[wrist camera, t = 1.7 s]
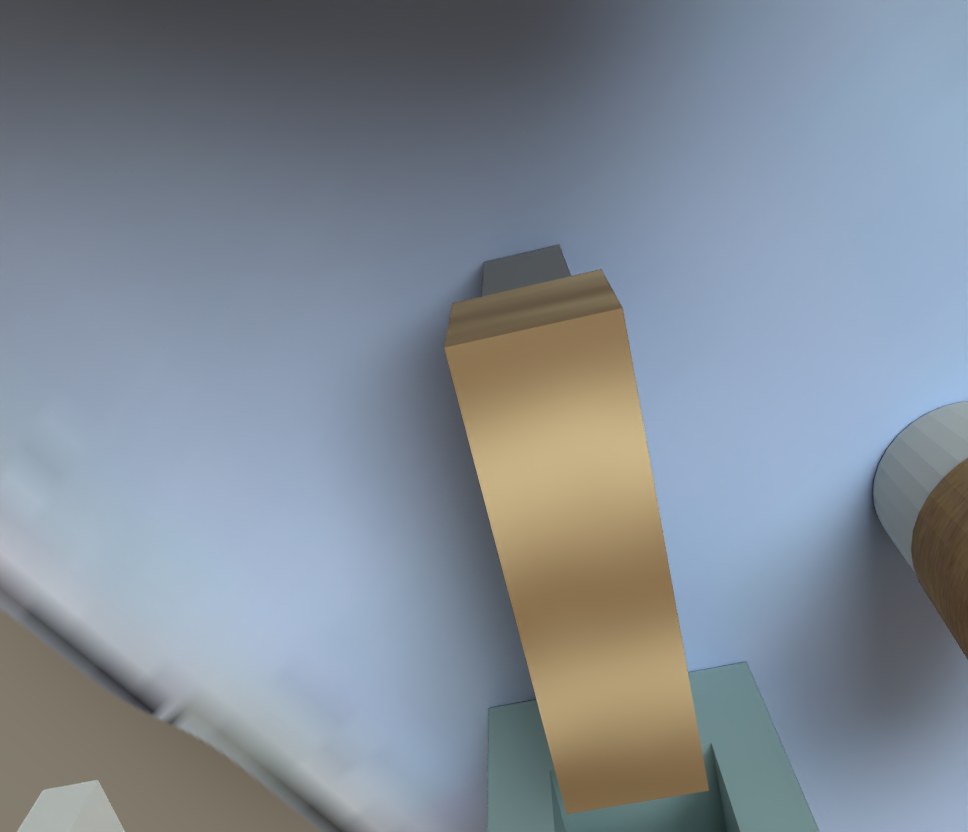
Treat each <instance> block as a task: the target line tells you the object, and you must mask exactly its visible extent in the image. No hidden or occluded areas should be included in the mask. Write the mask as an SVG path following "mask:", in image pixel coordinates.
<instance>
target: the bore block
mask: <svg viewBox="0 0 968 832" xmlns="http://www.w3.org/2000/svg"><path fill="white" fill-rule="evenodd" d="M688 676H689V681H690V687H691V692H692V698H693V704H694V709H695V715H696V720H697V726H698V732H699V737H700V743H701V748H702V754H703V759H704V765H705V771H706V776H707V782H708V787H709V791H704V792H698V793H692V794H686V795H680V796H674V797H668V798H662V799H656V800H650V801H644V802H638V803H632V804H626V805H620V806H614V807H608V808H602V809H596V810H590V811H584V812H578V813H572V814H566V810H565V807H564V803H563V799H562V795H561V791H560V788H559V784H558V780H557V776H556V772H555V768H554V765H553V761H552V757H551V753H550V749H549V746H548V742H547V738H546V734H545V730H544V727H543V723H542V719H541V715H540V711H539V708H538V704H537V700H532V701H526V702H521V703H515V704H510V705H504V706H499V707H493V708H489V718H488V820H487V832H820V831H819V829H818V827H817V824H816V822H815V820H814V817H813V815H812V813H811V811H810V808H809V806H808V804H807V801H806V799H805V797H804V794H803V792H802V790H801V787H800V785H799V783H798V780H797V778H796V776H795V773H794V771H793V769H792V766H791V764H790V762H789V759H788V757H787V755H786V752H785V750H784V748H783V745H782V743H781V741H780V738H779V736H778V734H777V731H776V729H775V727H774V724H773V722H772V720H771V718H770V715H769V713H768V711H767V708H766V706H765V704H764V701H763V699H762V697H761V694H760V692H759V690H758V687H757V685H756V683H755V680H754V678H753V676H752V673H751V671H750V669H749V666H748V664H747V662H743V663H737V664H732V665H726V666H721V667H715V668H710V669H704V670H698V671H693V672H688Z"/></svg>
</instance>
